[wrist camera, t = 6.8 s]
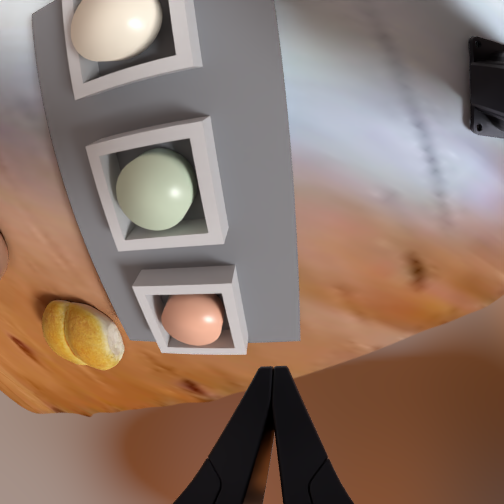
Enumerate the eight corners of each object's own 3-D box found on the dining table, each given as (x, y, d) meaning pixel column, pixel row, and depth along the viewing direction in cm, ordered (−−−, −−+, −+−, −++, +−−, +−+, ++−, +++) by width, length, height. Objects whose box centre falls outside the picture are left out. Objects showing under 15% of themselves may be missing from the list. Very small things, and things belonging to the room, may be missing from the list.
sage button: (189, 142, 15) (180, 150, 13) (203, 212, 17) (196, 227, 16) (121, 155, 15) (107, 164, 14) (139, 219, 18) (128, 233, 16)
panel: (264, -51, 10) (261, -78, 7) (299, 321, 24) (301, 359, 21) (50, 15, 12) (13, 14, 9) (137, 323, 26) (123, 356, 23)
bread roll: (39, 292, 26) (19, 318, 22) (109, 300, 25) (91, 333, 22) (68, 347, 30) (54, 373, 27) (134, 359, 30) (122, 390, 26)
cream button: (158, -23, 9) (144, -32, 8) (167, 48, 11) (154, 46, 10) (86, 4, 10) (67, 0, 8) (94, 70, 12) (76, 73, 10)
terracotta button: (218, 284, 20) (214, 302, 18) (229, 327, 22) (226, 345, 20) (161, 286, 20) (153, 302, 19) (176, 327, 22) (171, 344, 21)
